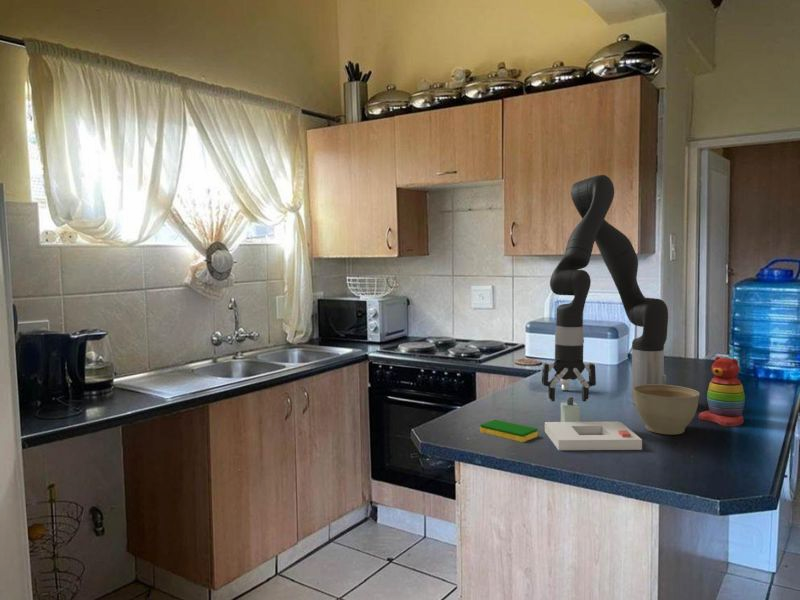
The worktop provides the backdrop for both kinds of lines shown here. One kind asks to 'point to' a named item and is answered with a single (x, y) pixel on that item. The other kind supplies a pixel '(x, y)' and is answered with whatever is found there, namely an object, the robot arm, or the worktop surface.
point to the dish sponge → (509, 430)
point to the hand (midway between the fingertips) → (568, 400)
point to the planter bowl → (665, 407)
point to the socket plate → (592, 436)
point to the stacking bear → (725, 394)
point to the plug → (570, 411)
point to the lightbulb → (565, 384)
